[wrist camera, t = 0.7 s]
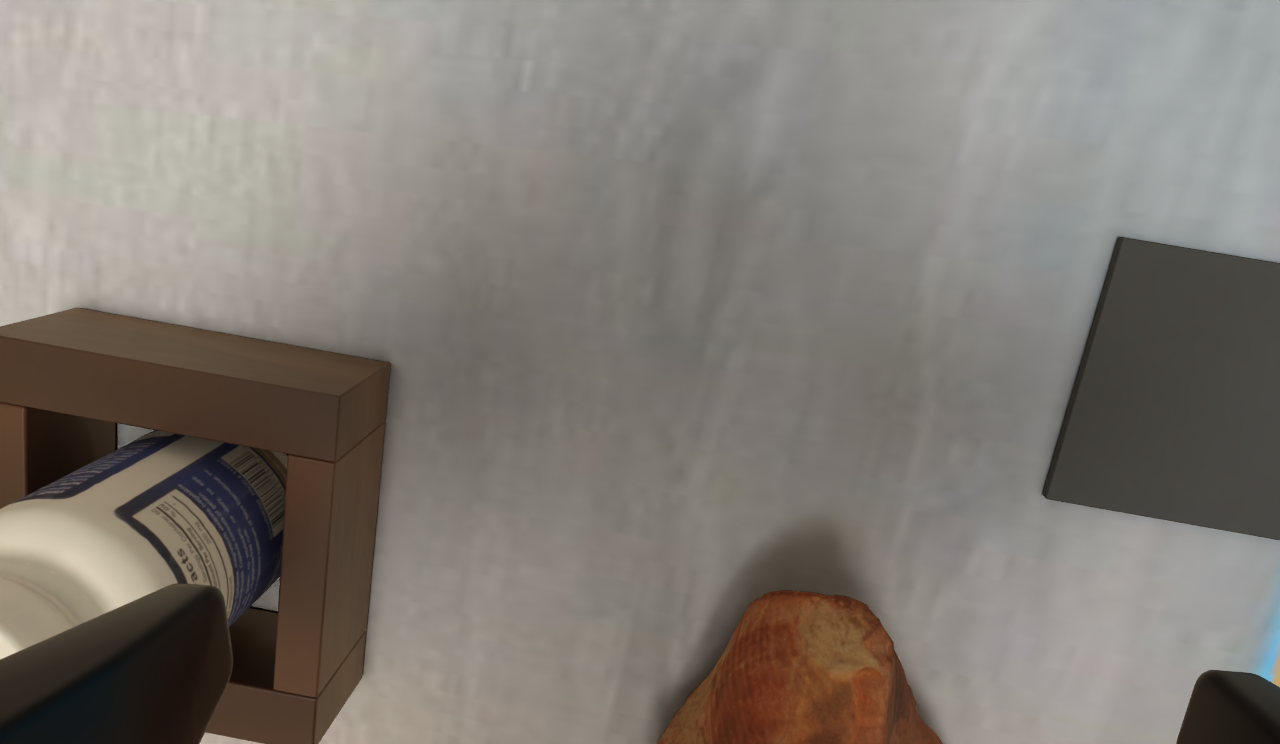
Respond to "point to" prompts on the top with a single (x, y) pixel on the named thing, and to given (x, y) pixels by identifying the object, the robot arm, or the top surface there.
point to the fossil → (803, 680)
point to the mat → (1178, 393)
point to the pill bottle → (141, 533)
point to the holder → (237, 414)
